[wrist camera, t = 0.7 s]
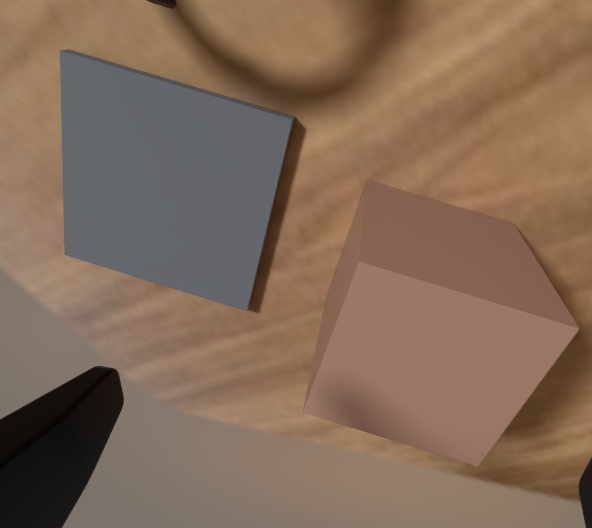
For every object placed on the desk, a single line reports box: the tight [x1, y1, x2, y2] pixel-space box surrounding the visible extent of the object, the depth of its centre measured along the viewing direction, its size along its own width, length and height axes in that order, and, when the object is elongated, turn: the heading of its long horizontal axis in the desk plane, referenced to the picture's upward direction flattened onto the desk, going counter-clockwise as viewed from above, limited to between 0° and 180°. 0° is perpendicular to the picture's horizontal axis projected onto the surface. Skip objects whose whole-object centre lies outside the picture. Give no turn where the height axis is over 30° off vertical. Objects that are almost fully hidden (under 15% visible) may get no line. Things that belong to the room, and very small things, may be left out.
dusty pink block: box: [303, 180, 580, 467], centre depth 18 cm, size 7×7×8 cm
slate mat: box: [60, 50, 295, 311], centre depth 21 cm, size 10×10×1 cm
